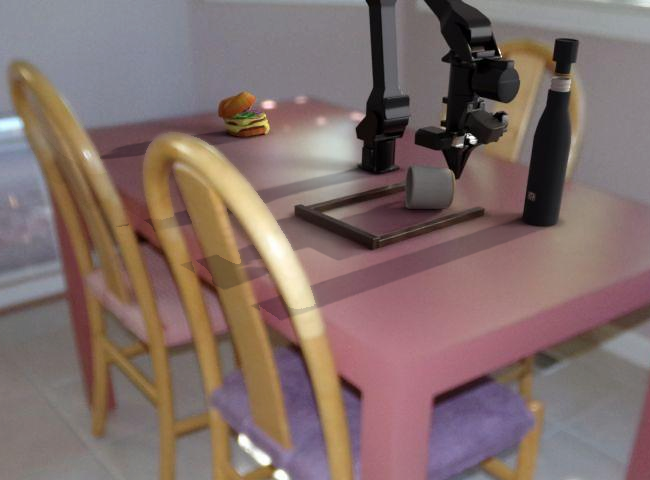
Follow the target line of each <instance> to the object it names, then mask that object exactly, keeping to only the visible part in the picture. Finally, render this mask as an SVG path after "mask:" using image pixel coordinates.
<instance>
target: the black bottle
mask: <svg viewBox="0 0 650 480" xmlns="http://www.w3.org/2000/svg"><path fill="white" fill-rule="evenodd" d="M579 48H580V40H579V39H575V38H567V37H558V38H555V39H554V45H553V52H552V62H555V68H554V72H553V74H554V76H552V77H551V80H550V83H551V84H550V85H549V87H550V88H548V89H547V97H546V103H545V107H544V109H543V111H542V113H541V115H540V117H539V119H538V122H537V125H536V128H535V130H534V134H533V139H532V146H531V153H530V160H529V168H528V174H527V182H526V189H525V196H524V202H523V209H522V216H521V219H522V221H523V222H525V223H526V224H530V225H533V226H538V227H551V226H555V225H557V224H558V223H559V218H560V211H561V206H562V202H563V201H562V200H563V195H564V189H565V182H566V176H567V169H568V164H569V158H570V151H571V145H572V122H571V115H570V109H569V108H570V101H571V95H572V91H571V90H570V89H571V85H572V78H570V76H571V72H572V65H573V64H575V63H577V59H578V53H579Z"/></svg>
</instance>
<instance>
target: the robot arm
mask: <svg viewBox="0 0 650 480" xmlns="http://www.w3.org/2000/svg"><path fill="white" fill-rule="evenodd" d="M364 1H365V3H366V4H367V6H368V20H369V21H368V22H369V36H370V37H369V38H370V51H371V52H370V54H371V56H370V57H371V72H372V74H371V75H372V89H371V91H370V93H369V96H368V97H367V100H366V103H365V116H364V117H363V118H362V120H361V121H360V122H359V123H358V124H357V125H356V127H355V128H354V129H355V130H354V131H355V134H356V135H355V136H356V139H357V140H360V141H362V142H363V143H362V145H363V146H362V147H361V163H358V164H357V168H359V169H362V170H365V171H367V172H371V173H374V174H375V175H380V174H385V173H390V172H394V171H397V170H400V169H401V166H399V165H397V164H395V161H396V145H397V144H396V143H397V142H396V141H397V139H403V137H404V134H405V132H406V128H407V126H409V121H410V117H412V114H411V109H410V105H411V104H410V103H411V98H410V95H409V94H404V93H403V91H402V89H401V88H400V86H399V85H400V84H399V67H398V47H397V46H398V44H397V24H396V23H397V22H396V21H397V19H396V4H397V1H398V0H364ZM423 2H424V3H425V4H426V6H427V7H428V8H429V10H431V12H432V13H433V14H434V16H435V17H436V18H437V20H438V22H439V30H440V34H441V36H442V37H443V39H444V41H445V43H446V44H447V46H448V48H449V51H448V52H446V54H445V55H443V56H442V57H441V63H446V64H449V74H448V75H449V76H448V87H447V95H446V96H442V99H441V103H442V104H446V110H445V119H442V120H440V124H439V125H440V127H442V128H440V127H437V126H433V125H429V126H424V127H419V128H418V129H417V130H416V131H415V132H414V145H416V146H420V147H423V148H426V149H430V150H432V151H436V152H437V151H439V152H441V153H442V155H443V157H444V159H445V163H446V164H447V169H450V170H452V172H453V173H454V176H455V181H458V180H460V179H461V176H462V174H463V172H464V169H465V167H466V165H467V162H468V161H469V157H470V156H471V155H472V152H473V151H474V150H476V149H477V148H479V147H480V146H482V145H484V146H485V145H489V144H491V143H498V142H499V140H500V138H501V137H504V133H507V132H508V127H509V113H507V112H506V111H504V110H500V111H499V110H498V111H496V112H495V113H494V112H488V111H487V110H486V102H485V99H486V100H490V101H494V102H498V103H502V104H510V103H511V102H513V101H514V100H515V98H516V97H517V95H518V94H519V92H520V91H519V90H520V88H521V80H520V76H519V75H520V74H519V72H518V70H517V69H516V68H515V63H516V62H515V60H513V59H503V56H502V53H501V51H500V48H499V47H500V46H499V45H498V42H497V40H496V37H495V34H494V32H493V24H492V22H491V20H490V19H489V17H487V15H485V14H484V13H483V12H482V11H480V10H479V9H478V8H476V7H474V6H472V5H470V4H468V3H466V2H465V1H463V0H423Z"/></svg>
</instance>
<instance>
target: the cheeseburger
mask: <svg viewBox="0 0 650 480" xmlns="http://www.w3.org/2000/svg"><path fill="white" fill-rule="evenodd" d="M257 100H258V99H257V98H256V97H255V96H254V95H253V94H251V93H249V92H246V91H242V92H240V93H238V94H236V95H233V96H229V97H226V98H224V99H222V100H220V102H219V104H218V109H217V115H218V117H219V118H221V119H223V121H224V124H225V127H226V129H227V131H228V133H229V134H230V135H232V136H235V137H238V138H240V137H241V138H242V137H243V138H244V137H245V138H246V137H253V136H255V135H256V136H258V135H263V134H264V135H267V134H268V133H269V131H270V124H269V123H268V118H267V115H266V113H264V112H263V111H262V110H260V109H254V110H253V109H252V107H253V105H254V104H255V103H256V102H257ZM251 109H252V110H251Z"/></svg>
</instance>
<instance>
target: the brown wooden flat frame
mask: <svg viewBox="0 0 650 480" xmlns="http://www.w3.org/2000/svg"><path fill="white" fill-rule="evenodd" d="M405 183H406V180H405V181H401V182H396V183H392V184H388V185H385V186H380V187H377V188H373V189H372V188H371V189H368V190H365V191H360V192H357V193H353V194H349V195H348V194H347V195H345V196H340V197H337V198H333V199H329V200H324V201H321V202H317V203H312V204H308V205H304V204H302V203H300V204H296V205H294V206H293V207H294V216H295V217H296V218H297V217H298V218H300V219H302V220H303V221H306V222H308V223H311V224H313V225H315V226H318V227H320V228H322V229H324V230H327V231H329V232H331V233H334V234H336V235H338V236H341V237H343V238H345V239H348V240H350V241H352V242H354V243H357V244H359V245H361V246H364V247H366V248H368V249H370V250H376V249H379V248H382V247H386V246H389V245H392V244H395V243H398V242H402V241H404V240H408V239H412V238H414V237H418V236H421V235H423V234H427V233H430V232H434V231H437V230H440V229H442V228H445V227H449V226H452V225H455V224H456V225H457V224H459V223H461V222H465V221H468V220H471V219H474V218H477V217H481V216H484V215H485V210H486V208H485V207H482V206H475V207H471V208H468V209H465V210H462V211H459V212H455V213H452V214H449V215H445V216H442V217H438V218H435V219H432V220H429V221H425V222H422V223H419V224H415V225H412V226H409V227H405V228H402V229H399V230H395V231H392V232H388V233H386V234H383V235H379V236H378V235H376V234H373V233H372V232H369V231H366V230H363V229H361V228H359V227H356V226H354V225H352V224H349V223H347V222H344V221H343V220H340V219H337V218H335V217H332V216H331V215H328V214H325V213H323V212H327V211H330V210H334V209H338V208H342V207H347V206H350V205H354V204H357V203H361V202H365V201H370V200H373V199H377V198H381V197H384V196H388V195H392V194H396V193H400V192H403V191H404V192H405Z"/></svg>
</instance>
